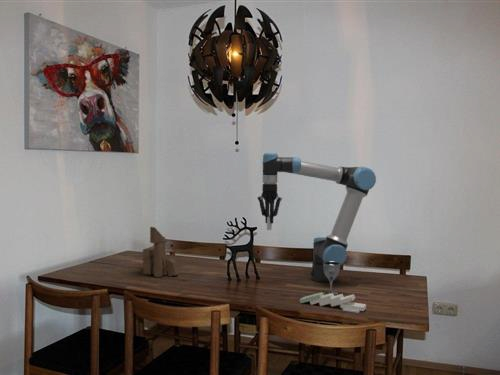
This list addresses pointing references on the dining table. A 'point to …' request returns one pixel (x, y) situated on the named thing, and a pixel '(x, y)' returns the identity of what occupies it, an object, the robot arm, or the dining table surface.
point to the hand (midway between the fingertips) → (269, 229)
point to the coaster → (351, 310)
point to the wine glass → (331, 273)
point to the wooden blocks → (158, 257)
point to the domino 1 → (311, 297)
